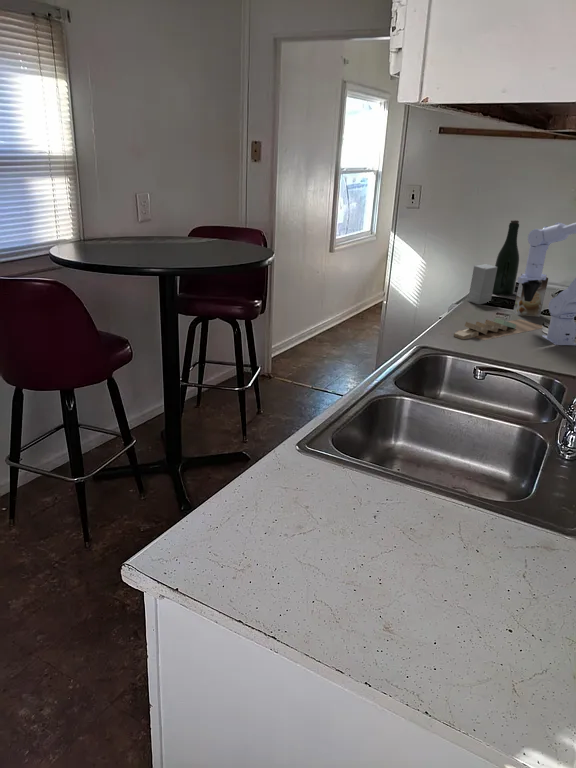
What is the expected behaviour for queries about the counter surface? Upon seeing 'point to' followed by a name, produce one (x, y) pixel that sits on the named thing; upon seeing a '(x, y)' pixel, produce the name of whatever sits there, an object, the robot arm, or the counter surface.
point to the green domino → (505, 323)
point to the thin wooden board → (509, 330)
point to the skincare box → (482, 283)
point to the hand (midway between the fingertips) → (527, 301)
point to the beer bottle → (507, 263)
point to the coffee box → (535, 305)
